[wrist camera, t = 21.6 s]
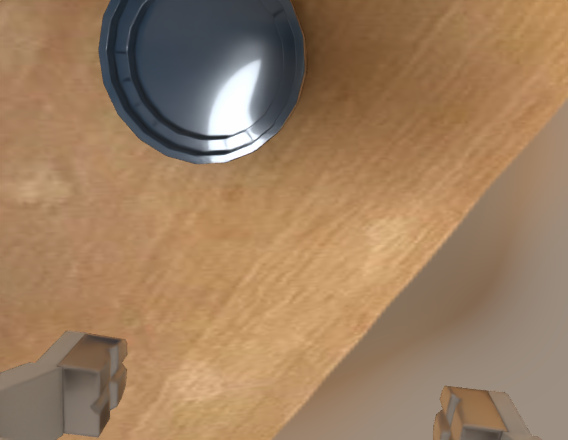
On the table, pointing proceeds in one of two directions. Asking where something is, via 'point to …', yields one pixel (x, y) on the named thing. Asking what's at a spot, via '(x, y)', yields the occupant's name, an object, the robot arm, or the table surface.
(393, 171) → the table surface
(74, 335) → the robot arm
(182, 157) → the bowl
